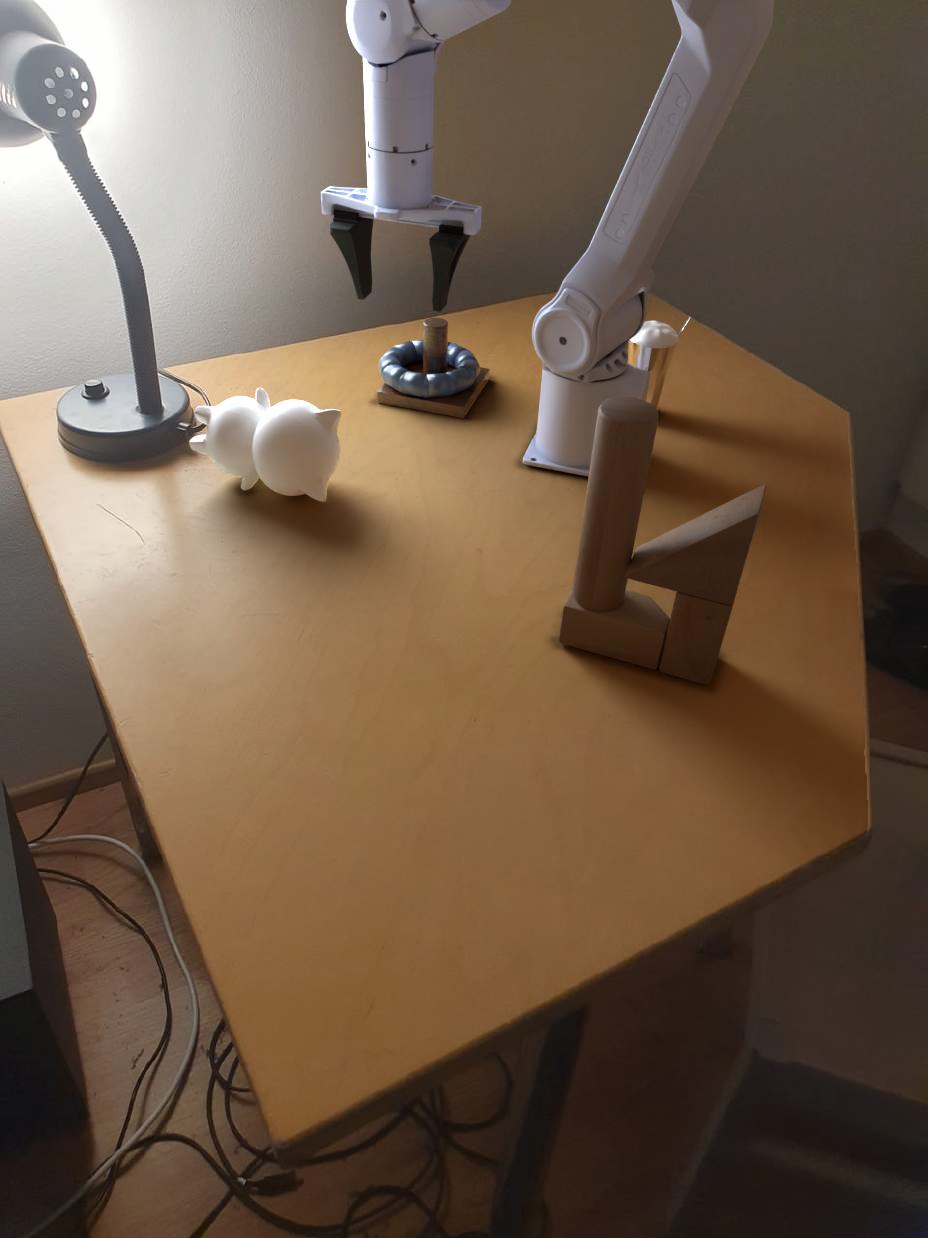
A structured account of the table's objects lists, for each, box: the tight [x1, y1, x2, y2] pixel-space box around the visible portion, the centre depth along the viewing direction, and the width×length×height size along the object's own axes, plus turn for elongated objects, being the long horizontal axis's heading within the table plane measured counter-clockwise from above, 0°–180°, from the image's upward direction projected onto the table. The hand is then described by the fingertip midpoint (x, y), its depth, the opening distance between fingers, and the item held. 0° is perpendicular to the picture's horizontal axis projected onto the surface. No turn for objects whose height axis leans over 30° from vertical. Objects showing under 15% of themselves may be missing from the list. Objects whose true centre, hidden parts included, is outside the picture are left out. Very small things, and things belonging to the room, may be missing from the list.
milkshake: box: [628, 315, 691, 410], centre depth 88 cm, size 4×5×10 cm
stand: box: [376, 317, 491, 419], centre depth 91 cm, size 9×9×7 cm
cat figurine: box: [188, 387, 342, 503], centre depth 78 cm, size 9×11×12 cm
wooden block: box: [558, 397, 768, 685], centre depth 58 cm, size 4×11×18 cm, turn 68°
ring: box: [377, 339, 481, 398], centre depth 92 cm, size 10×10×2 cm
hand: (401, 301), depth 86 cm, fingers open, 7 cm apart
